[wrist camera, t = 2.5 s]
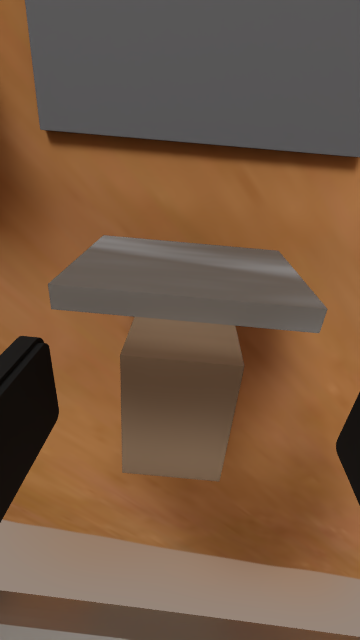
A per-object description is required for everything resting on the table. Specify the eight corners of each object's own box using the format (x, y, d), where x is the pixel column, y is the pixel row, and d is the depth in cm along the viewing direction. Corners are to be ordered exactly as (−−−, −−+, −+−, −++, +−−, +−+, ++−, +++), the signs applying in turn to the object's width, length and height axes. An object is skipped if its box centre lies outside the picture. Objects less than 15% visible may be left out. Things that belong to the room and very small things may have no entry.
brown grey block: (250, 327, 18) (300, 489, 10) (115, 315, 18) (41, 465, 10) (269, 240, 16) (360, 348, 7) (113, 226, 16) (11, 316, 7)
